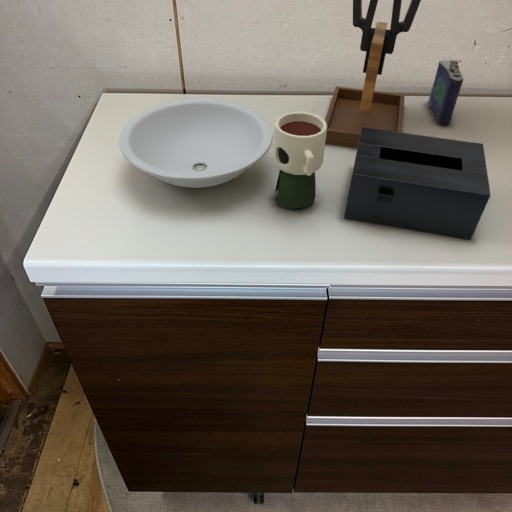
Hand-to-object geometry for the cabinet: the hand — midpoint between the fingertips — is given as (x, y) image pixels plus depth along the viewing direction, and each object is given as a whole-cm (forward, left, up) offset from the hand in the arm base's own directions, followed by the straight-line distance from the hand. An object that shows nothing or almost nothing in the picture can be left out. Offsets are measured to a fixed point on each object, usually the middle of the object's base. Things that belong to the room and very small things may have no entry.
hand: (372, 70), depth 82 cm
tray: (0, 0, -10) cm, 10 cm away
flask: (-14, -8, -11) cm, 19 cm away
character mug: (+8, +26, -11) cm, 29 cm away
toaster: (-9, +22, -10) cm, 26 cm away
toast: (0, 0, -6) cm, 6 cm away
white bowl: (+25, +22, -11) cm, 35 cm away
